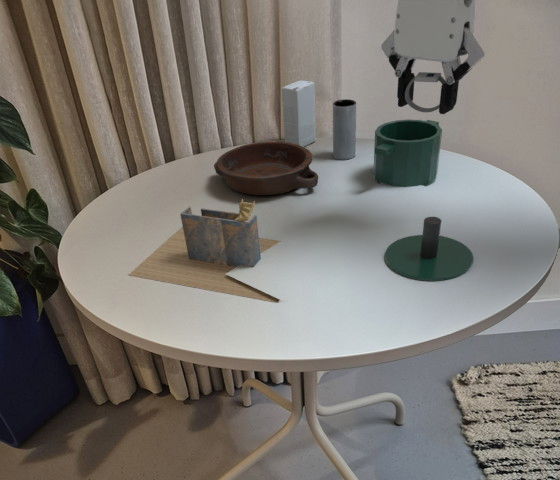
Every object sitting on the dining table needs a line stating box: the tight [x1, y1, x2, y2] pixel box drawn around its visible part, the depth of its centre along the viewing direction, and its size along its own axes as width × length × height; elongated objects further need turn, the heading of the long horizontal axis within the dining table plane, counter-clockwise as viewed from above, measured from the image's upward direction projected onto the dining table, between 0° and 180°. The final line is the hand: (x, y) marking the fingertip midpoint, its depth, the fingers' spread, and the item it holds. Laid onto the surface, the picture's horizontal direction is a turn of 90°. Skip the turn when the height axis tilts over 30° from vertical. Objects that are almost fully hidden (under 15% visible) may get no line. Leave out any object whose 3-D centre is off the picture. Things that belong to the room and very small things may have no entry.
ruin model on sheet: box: [128, 198, 282, 303], centre depth 86 cm, size 25×16×10 cm, turn 67°
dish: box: [213, 140, 319, 196], centre depth 109 cm, size 18×22×5 cm
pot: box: [372, 119, 443, 188], centre depth 106 cm, size 12×17×8 cm
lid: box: [384, 216, 474, 282], centre depth 83 cm, size 13×13×7 cm
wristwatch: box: [405, 71, 446, 113], centre depth 84 cm, size 6×3×5 cm, turn 67°
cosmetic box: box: [281, 79, 317, 148], centre depth 121 cm, size 6×4×12 cm
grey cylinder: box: [332, 98, 357, 161], centre depth 115 cm, size 4×4×10 cm
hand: (425, 106), depth 85 cm, fingers closed on wristwatch, 6 cm apart
